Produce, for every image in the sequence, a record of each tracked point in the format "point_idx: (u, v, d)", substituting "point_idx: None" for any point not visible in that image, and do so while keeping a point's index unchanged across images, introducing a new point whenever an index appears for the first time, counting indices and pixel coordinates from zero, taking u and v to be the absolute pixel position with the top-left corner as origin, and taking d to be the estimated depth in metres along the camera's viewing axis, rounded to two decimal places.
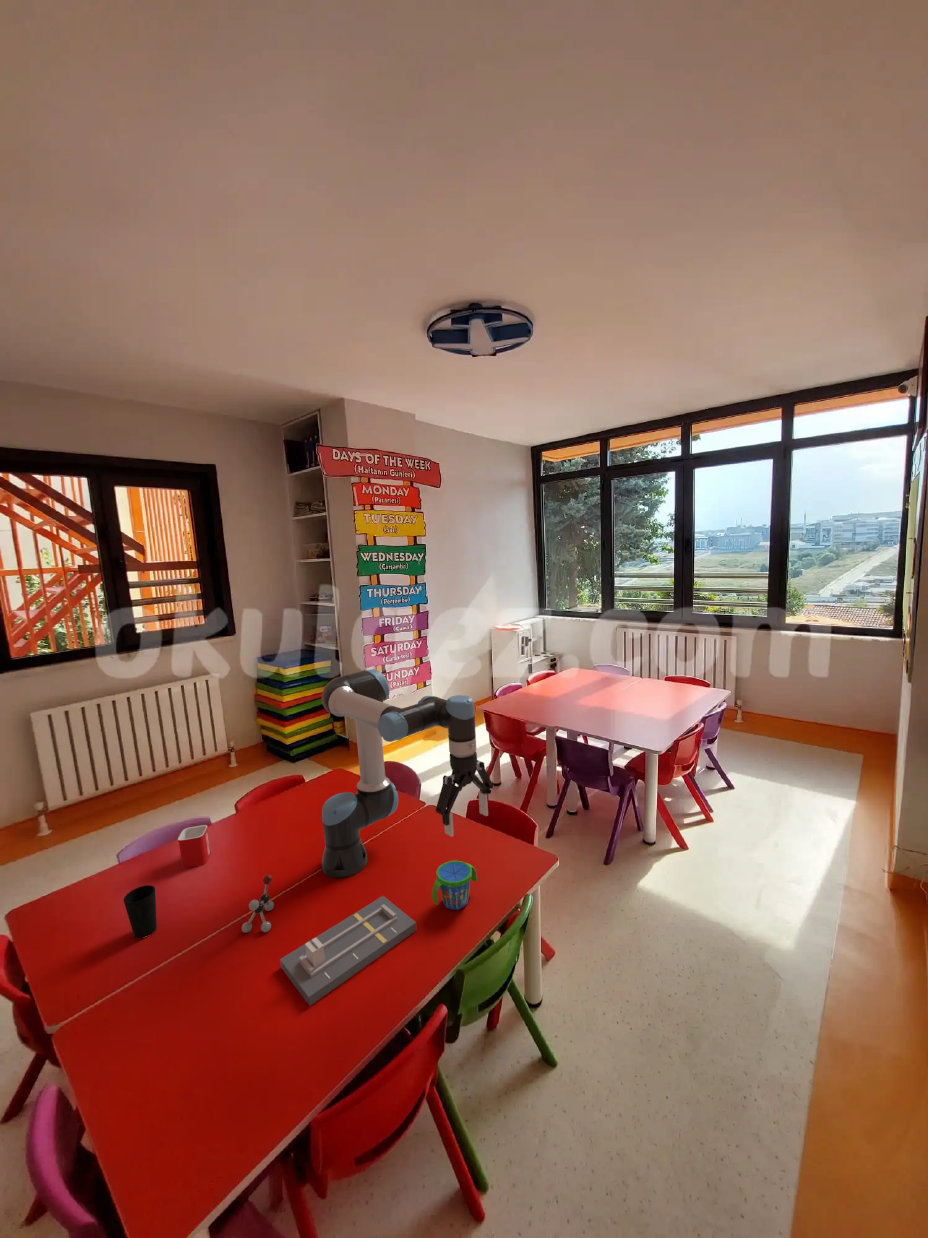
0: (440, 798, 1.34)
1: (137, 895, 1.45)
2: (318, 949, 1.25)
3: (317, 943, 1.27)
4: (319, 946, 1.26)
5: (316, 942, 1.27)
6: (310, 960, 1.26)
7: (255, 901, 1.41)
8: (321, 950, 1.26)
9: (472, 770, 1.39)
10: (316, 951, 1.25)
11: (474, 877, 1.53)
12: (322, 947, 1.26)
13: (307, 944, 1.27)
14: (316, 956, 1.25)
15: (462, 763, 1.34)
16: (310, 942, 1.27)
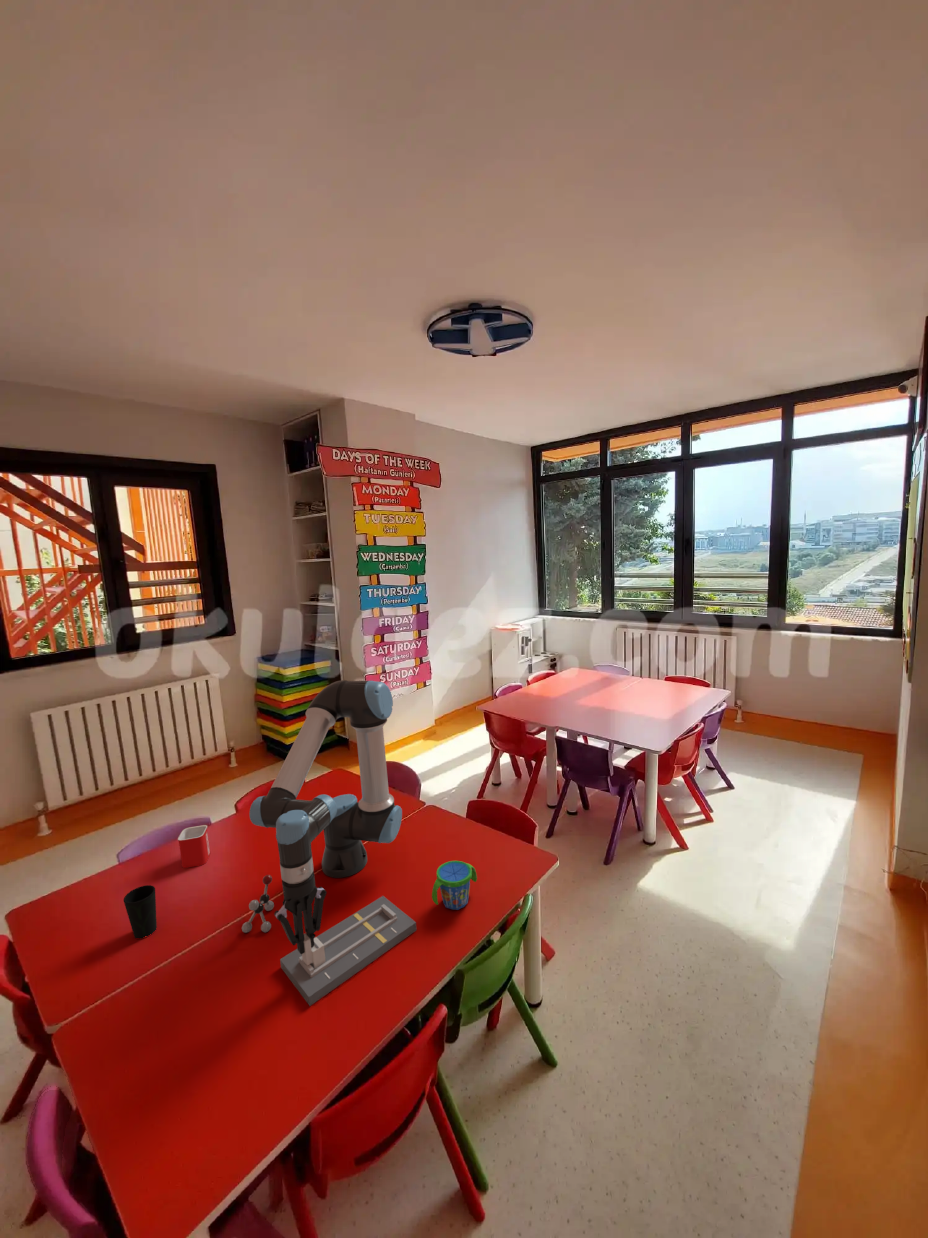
0: (284, 930, 1.21)
1: (137, 895, 1.45)
2: (318, 949, 1.25)
3: (317, 943, 1.27)
4: (319, 946, 1.26)
5: (316, 942, 1.27)
6: None
7: (255, 901, 1.41)
8: (321, 950, 1.26)
9: (310, 894, 1.24)
10: (316, 951, 1.25)
11: (474, 877, 1.53)
12: (322, 947, 1.26)
13: None
14: (316, 956, 1.25)
15: (292, 891, 1.19)
16: None
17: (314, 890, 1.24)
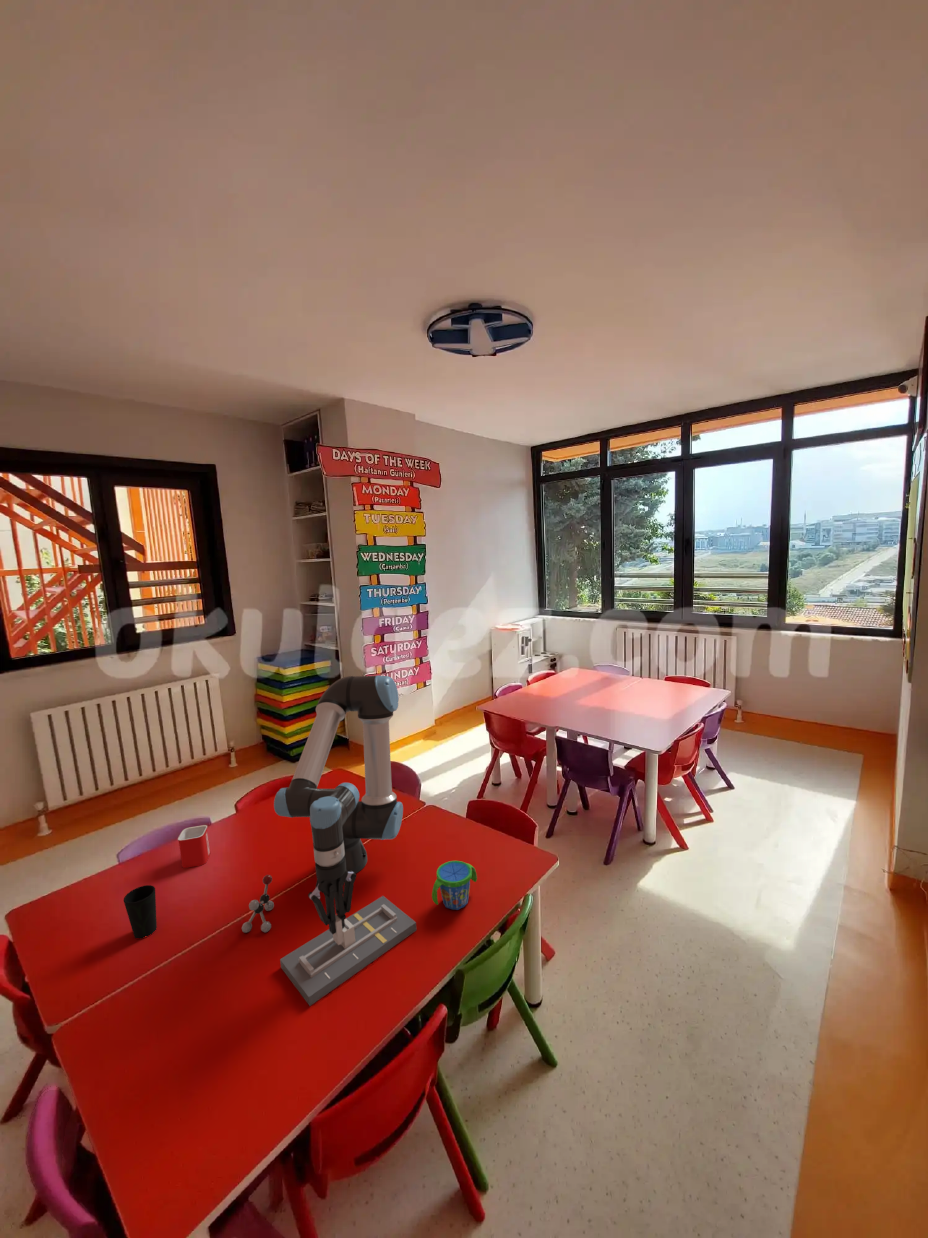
0: (317, 911, 1.27)
1: (137, 895, 1.45)
2: (349, 929, 1.31)
3: (348, 924, 1.33)
4: (350, 926, 1.32)
5: (346, 923, 1.33)
6: None
7: (255, 901, 1.41)
8: (352, 930, 1.32)
9: (341, 877, 1.30)
10: (347, 931, 1.31)
11: (474, 877, 1.53)
12: (353, 927, 1.32)
13: None
14: (347, 936, 1.31)
15: (326, 873, 1.25)
16: None
17: (345, 873, 1.30)
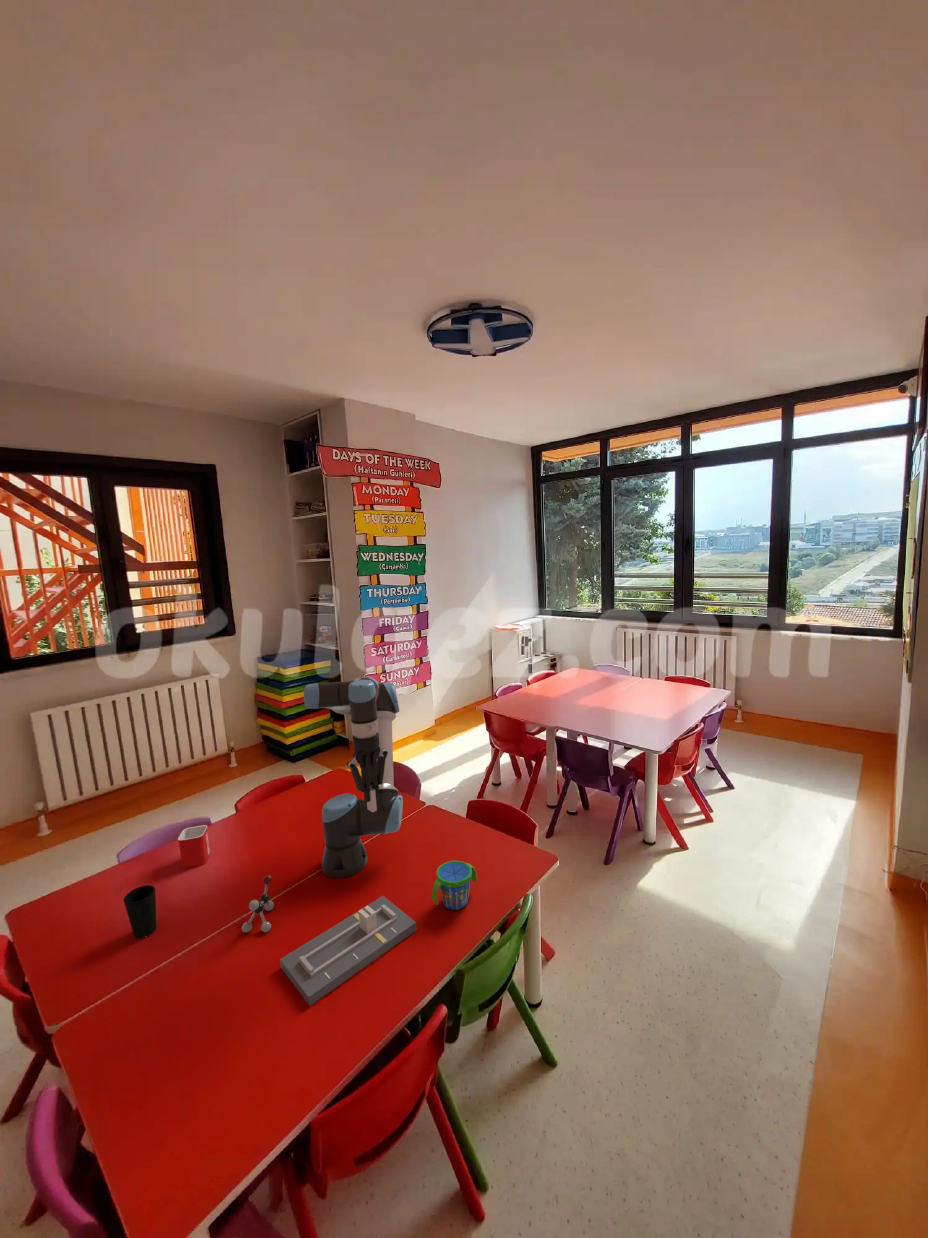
0: (354, 780, 1.44)
1: (137, 895, 1.45)
2: (371, 915, 1.36)
3: (370, 910, 1.37)
4: (372, 913, 1.36)
5: (368, 909, 1.38)
6: (364, 926, 1.36)
7: (255, 901, 1.41)
8: (374, 916, 1.36)
9: (375, 751, 1.46)
10: (369, 917, 1.35)
11: (474, 877, 1.53)
12: (374, 914, 1.37)
13: (360, 911, 1.37)
14: (369, 922, 1.35)
15: (362, 743, 1.41)
16: (363, 909, 1.38)
17: (378, 748, 1.47)
